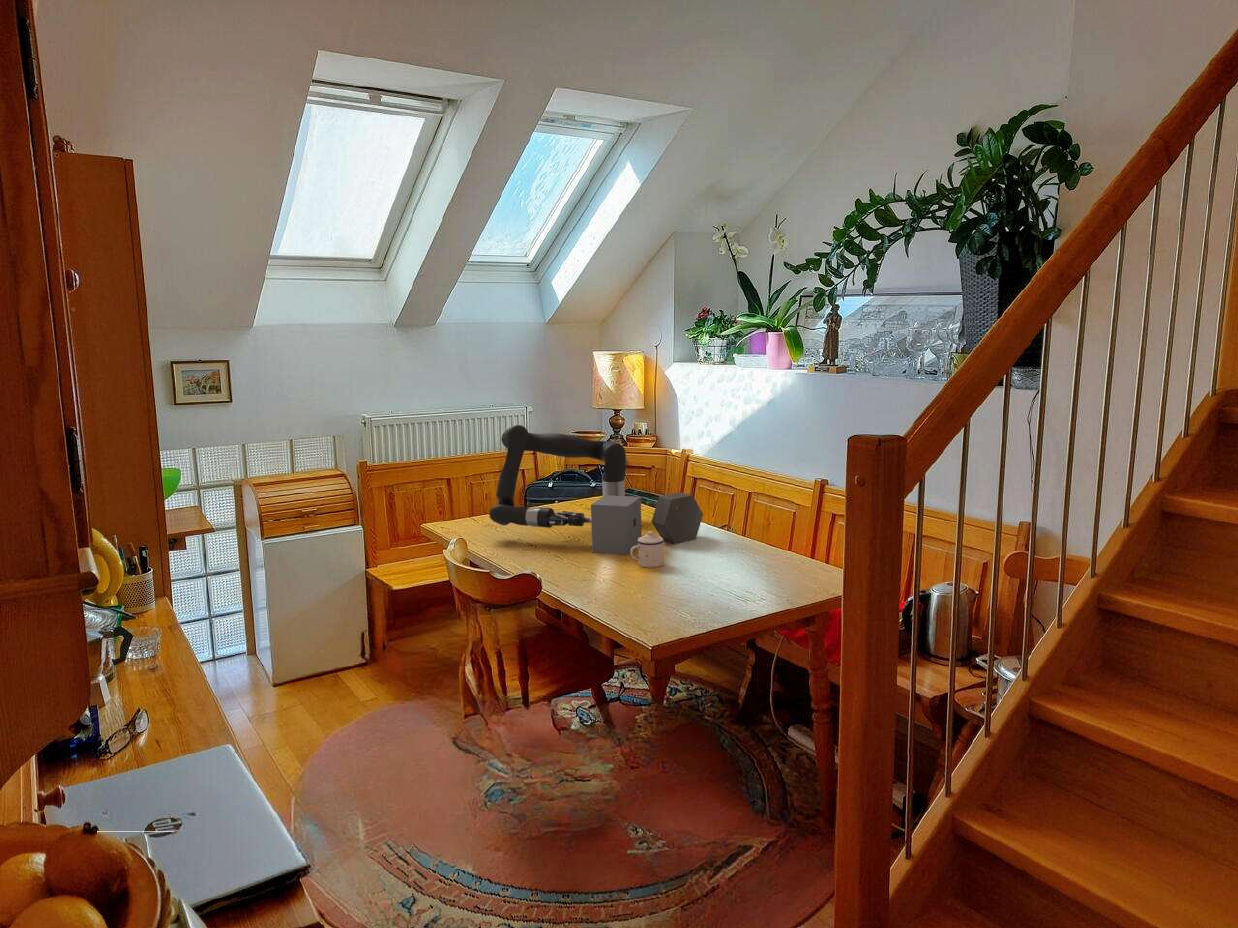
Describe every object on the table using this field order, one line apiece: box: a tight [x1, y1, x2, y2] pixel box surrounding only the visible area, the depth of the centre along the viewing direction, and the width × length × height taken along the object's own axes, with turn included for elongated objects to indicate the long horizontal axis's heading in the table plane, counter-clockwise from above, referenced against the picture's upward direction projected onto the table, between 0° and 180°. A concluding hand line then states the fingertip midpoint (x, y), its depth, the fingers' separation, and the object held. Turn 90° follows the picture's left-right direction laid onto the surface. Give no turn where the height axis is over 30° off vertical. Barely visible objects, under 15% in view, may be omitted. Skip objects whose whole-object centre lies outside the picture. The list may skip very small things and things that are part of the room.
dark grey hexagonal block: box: [650, 492, 704, 545], centre depth 328 cm, size 17×8×21 cm
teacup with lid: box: [629, 530, 665, 569], centre depth 297 cm, size 12×9×12 cm
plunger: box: [567, 511, 591, 527], centre depth 322 cm, size 5×19×5 cm, turn 71°
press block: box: [590, 495, 643, 556], centre depth 319 cm, size 16×14×18 cm
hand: (581, 519), depth 323 cm, fingers closed on plunger, 5 cm apart
